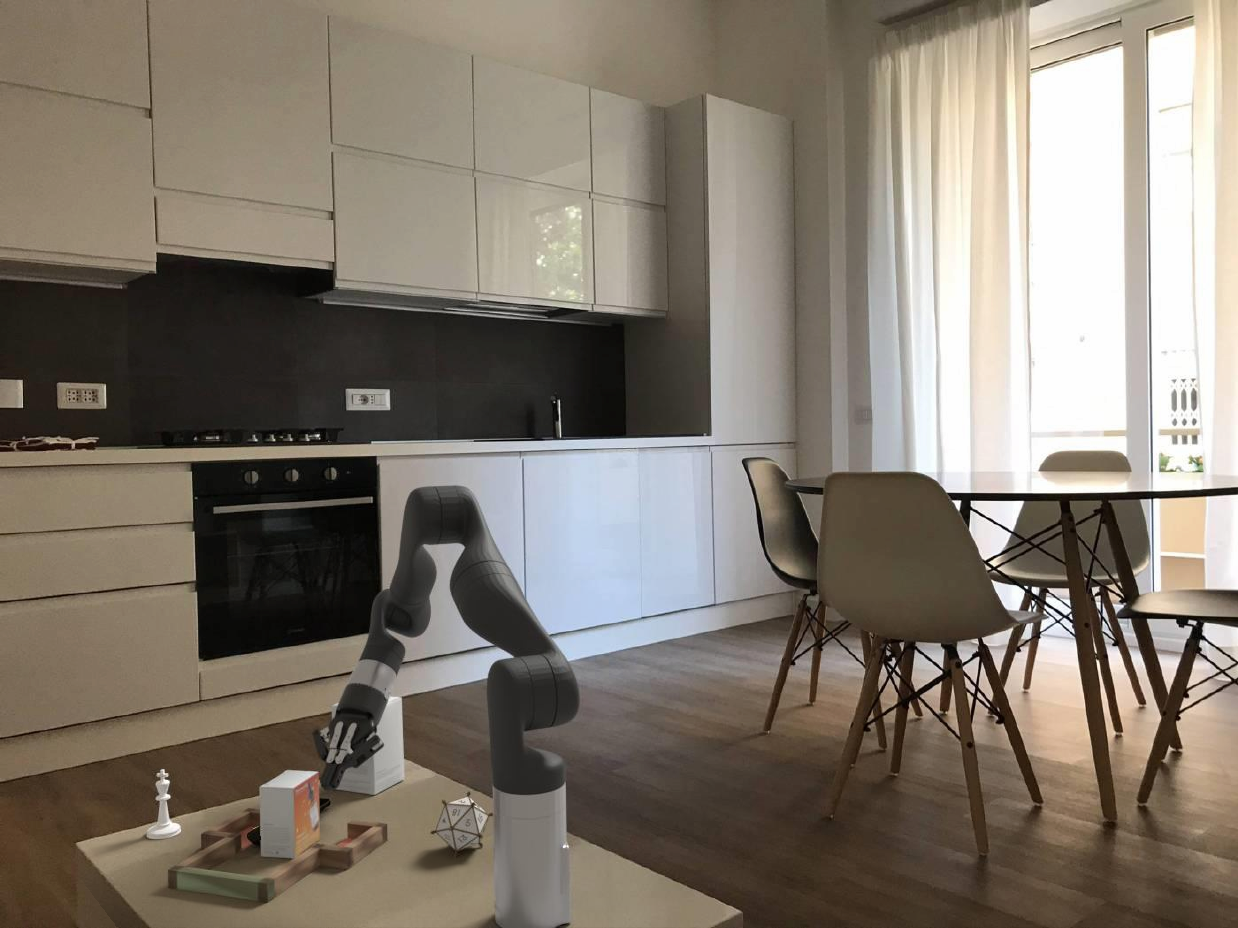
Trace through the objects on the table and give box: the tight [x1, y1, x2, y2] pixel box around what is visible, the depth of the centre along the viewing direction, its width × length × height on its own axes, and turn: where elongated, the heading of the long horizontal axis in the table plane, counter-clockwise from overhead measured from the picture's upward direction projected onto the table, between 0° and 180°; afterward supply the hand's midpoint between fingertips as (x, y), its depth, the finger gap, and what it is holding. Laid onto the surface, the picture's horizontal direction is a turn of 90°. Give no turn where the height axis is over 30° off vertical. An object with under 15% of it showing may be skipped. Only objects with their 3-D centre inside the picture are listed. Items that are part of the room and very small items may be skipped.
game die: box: [429, 790, 493, 858], centre depth 153 cm, size 9×8×10 cm
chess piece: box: [146, 769, 182, 840], centre depth 160 cm, size 5×5×10 cm
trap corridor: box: [167, 807, 389, 903], centre depth 149 cm, size 23×25×2 cm
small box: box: [258, 769, 321, 859], centre depth 154 cm, size 8×6×10 cm
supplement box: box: [330, 695, 405, 796], centre depth 182 cm, size 9×9×15 cm
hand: (327, 788), depth 163 cm, fingers closed
